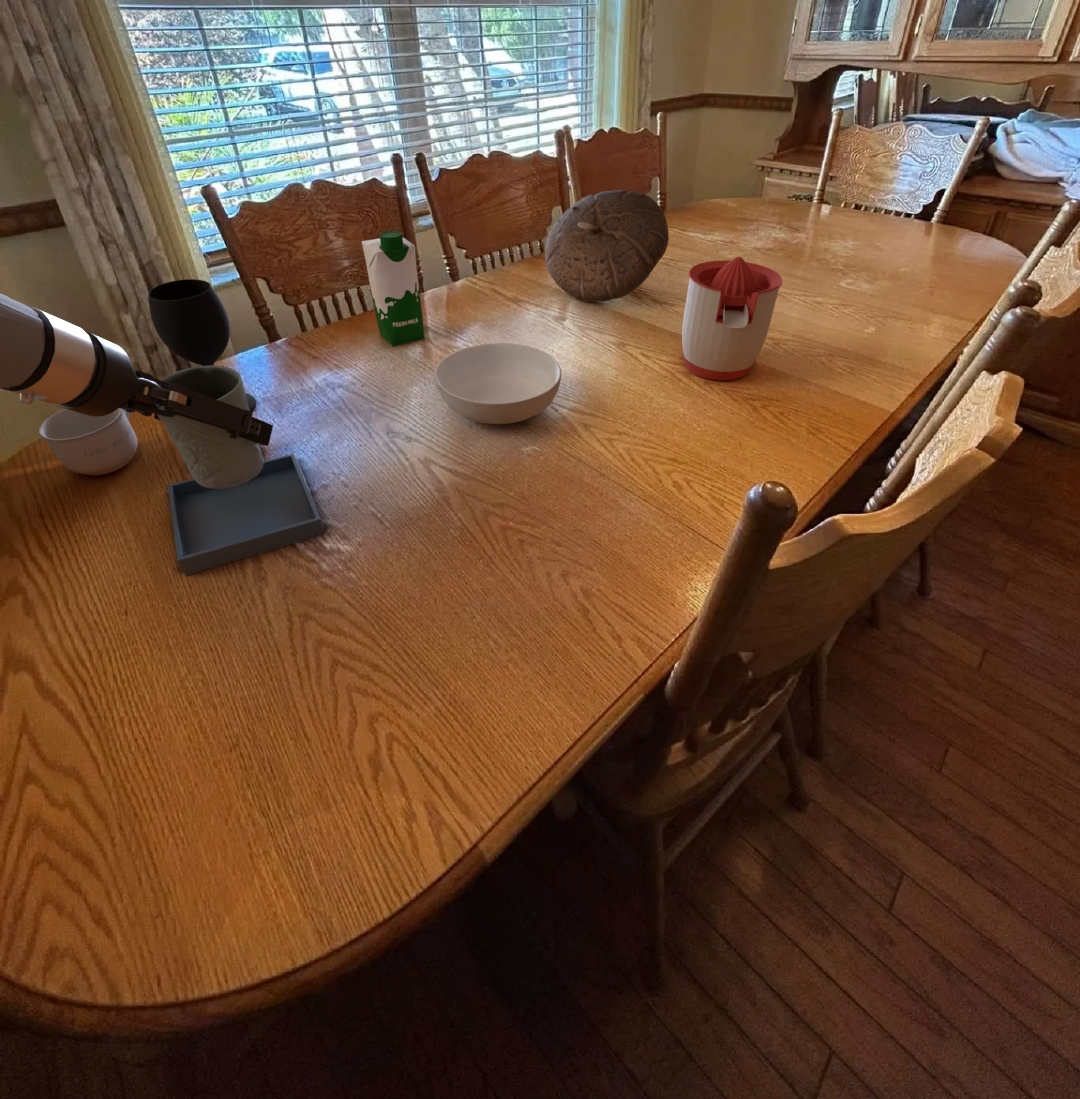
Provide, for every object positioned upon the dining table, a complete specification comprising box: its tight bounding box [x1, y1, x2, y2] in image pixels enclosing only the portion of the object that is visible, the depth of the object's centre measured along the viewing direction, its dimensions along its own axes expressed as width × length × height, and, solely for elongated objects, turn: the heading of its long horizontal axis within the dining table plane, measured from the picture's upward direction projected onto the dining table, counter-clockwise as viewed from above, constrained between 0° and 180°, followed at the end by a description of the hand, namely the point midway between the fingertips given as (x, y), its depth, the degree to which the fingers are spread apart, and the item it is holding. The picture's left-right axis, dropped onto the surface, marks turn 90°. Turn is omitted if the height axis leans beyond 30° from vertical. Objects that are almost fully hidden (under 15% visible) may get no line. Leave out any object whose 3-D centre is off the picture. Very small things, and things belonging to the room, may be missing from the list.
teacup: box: [38, 408, 138, 476], centre depth 94 cm, size 14×11×8 cm
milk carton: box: [361, 230, 426, 348], centre depth 122 cm, size 9×9×20 cm
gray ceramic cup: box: [157, 364, 264, 489], centre depth 77 cm, size 10×10×12 cm
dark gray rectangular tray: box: [167, 452, 326, 576], centre depth 85 cm, size 17×17×3 cm
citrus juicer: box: [681, 256, 783, 381], centre depth 112 cm, size 16×17×20 cm
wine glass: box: [147, 278, 257, 413], centre depth 101 cm, size 10×10×20 cm
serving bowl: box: [434, 342, 562, 425], centre depth 106 cm, size 21×21×7 cm
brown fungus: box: [544, 189, 670, 303], centre depth 142 cm, size 28×23×25 cm
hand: (233, 428), depth 80 cm, fingers closed on gray ceramic cup, 10 cm apart
